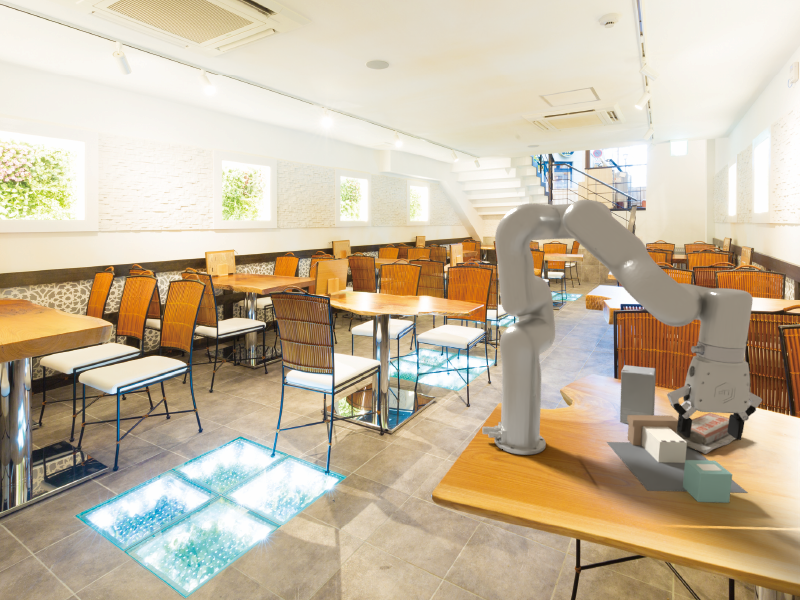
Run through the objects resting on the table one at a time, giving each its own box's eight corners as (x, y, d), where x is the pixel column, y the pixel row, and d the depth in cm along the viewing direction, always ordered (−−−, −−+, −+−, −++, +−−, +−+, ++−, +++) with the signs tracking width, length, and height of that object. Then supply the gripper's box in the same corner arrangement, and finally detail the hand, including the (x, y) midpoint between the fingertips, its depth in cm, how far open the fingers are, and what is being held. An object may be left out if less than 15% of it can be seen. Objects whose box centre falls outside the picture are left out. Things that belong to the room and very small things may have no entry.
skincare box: (653, 421, 130) (658, 367, 127) (651, 431, 124) (656, 374, 121) (620, 415, 134) (624, 363, 132) (617, 424, 128) (621, 369, 126)
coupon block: (647, 462, 107) (649, 435, 106) (625, 438, 118) (626, 414, 117) (696, 462, 106) (698, 435, 105) (669, 439, 118) (671, 415, 117)
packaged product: (701, 408, 126) (743, 420, 118) (700, 425, 127) (742, 438, 119) (665, 422, 117) (707, 436, 109) (664, 440, 118) (706, 455, 109)
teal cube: (697, 501, 91) (700, 473, 90) (682, 486, 96) (685, 459, 95) (729, 502, 91) (732, 473, 90) (712, 487, 96) (715, 460, 95)
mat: (647, 492, 95) (647, 490, 95) (606, 443, 117) (606, 441, 117) (747, 494, 94) (747, 492, 94) (687, 444, 116) (687, 443, 116)
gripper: (684, 357, 85) (674, 442, 88) (781, 360, 84) (767, 446, 87) (664, 346, 93) (654, 425, 96) (753, 348, 92) (741, 428, 95)
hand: (708, 435), depth 91 cm, fingers open, 9 cm apart
